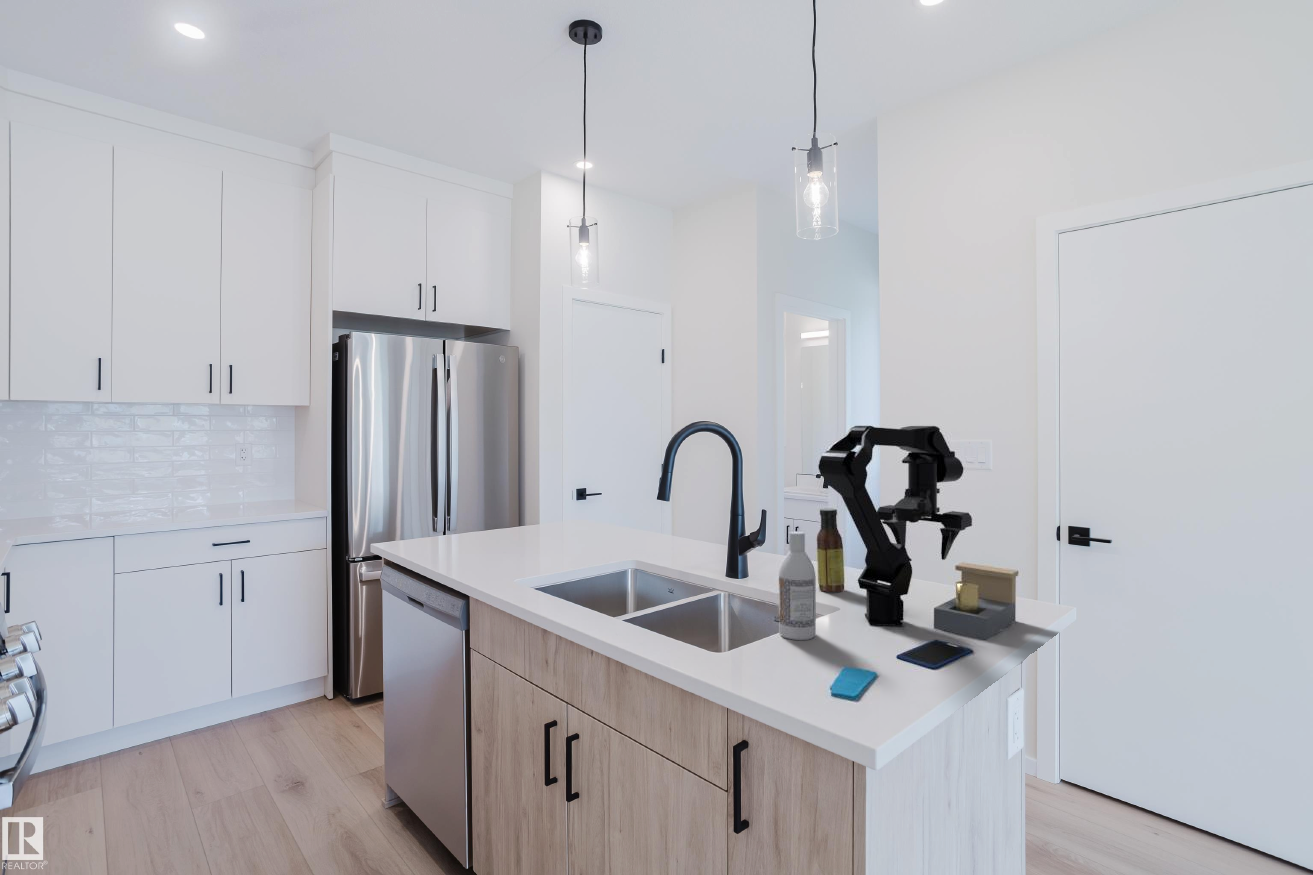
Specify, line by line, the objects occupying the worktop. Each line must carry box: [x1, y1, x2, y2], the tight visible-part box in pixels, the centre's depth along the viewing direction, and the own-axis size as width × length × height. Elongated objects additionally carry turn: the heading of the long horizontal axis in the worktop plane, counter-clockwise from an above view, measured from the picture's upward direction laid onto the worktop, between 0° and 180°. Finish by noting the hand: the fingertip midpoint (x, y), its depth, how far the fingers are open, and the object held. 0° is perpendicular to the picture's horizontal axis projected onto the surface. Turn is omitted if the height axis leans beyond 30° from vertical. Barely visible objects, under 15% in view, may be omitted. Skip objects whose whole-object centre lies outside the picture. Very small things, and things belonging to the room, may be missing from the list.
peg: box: [955, 580, 979, 615], centre depth 129 cm, size 4×4×8 cm
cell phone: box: [895, 639, 974, 671], centre depth 115 cm, size 7×14×1 cm, turn 128°
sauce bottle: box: [816, 507, 845, 593], centre depth 159 cm, size 7×6×20 cm
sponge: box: [829, 666, 878, 701], centre depth 103 cm, size 2×12×6 cm
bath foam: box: [778, 530, 817, 641], centre depth 126 cm, size 7×7×20 cm
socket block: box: [933, 562, 1019, 641], centre depth 132 cm, size 16×11×10 cm
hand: (922, 556), depth 140 cm, fingers open, 9 cm apart
